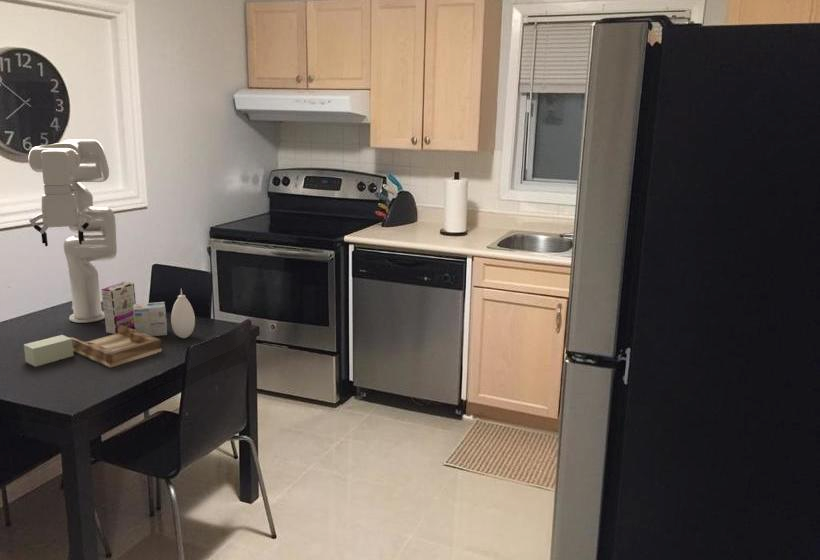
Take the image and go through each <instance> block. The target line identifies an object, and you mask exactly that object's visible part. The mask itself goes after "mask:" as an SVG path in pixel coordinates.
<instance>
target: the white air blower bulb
mask: <svg viewBox="0 0 820 560" xmlns="http://www.w3.org/2000/svg"><path fill="white" fill-rule="evenodd" d="M170 322H171V328H172V331H173V333H174V334H175V335H176V336H178V337H179V338H181V339H186V338H188V337H190V335H191V334H193V331H194V329H195V325H196V318H195V311H194V309H193V306H192V304H191V303H190V301H189V300H188V298H187V297H186V295H185V294H183V290H182V288H180V294H179V295H177V299H176V300H175V302H174V304H173V306H172V310H171V315H170Z"/></svg>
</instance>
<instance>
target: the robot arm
mask: <svg viewBox="0 0 820 560" xmlns="http://www.w3.org/2000/svg"><path fill="white" fill-rule="evenodd" d="M27 158H28V164H29V166H30V168H31V170H33V172H36V173H42V181H43V190H44V194H42V195H41V213H39V214H37V215H36V216H33V217H32V218H30V219H29V223H30V224H31V226H32V227H33V228H34V229H35V230H36V231H38V232H39V233H40V235H41V241H42V244H44V246H45V247H48V236H47V235H48V234H47V232H46V231H47V230H48V229H49V228H67V227H68V228H69V230H70V231H71V232H72V233H75V234H76V233H77V234H78V235H73V236H70V237H67V238H65V240H64V242H63V251H64V255H65V259H66V262H67V267H68V274H69V282H70V284H69V285H70V292H71V301H72V302H71V303H72V305H71V309H72V310H73V313H72V314H70V315H69V316H68V317H69V321H70V322H73V323H79V324H80V323H81V324H86V323H94V322H98V321H101V320H105V316H104V310H102V302H101V292H100V281H99V271H98V270H97V268H96V267H95V266H94V265H93V263H91V262H97V261H103V262H105V261H112V260H114V259H115V258H116V256H117V252H118V251H117V250H118V248H117V230H116V229H117V227H116V226H117V224H116V216H115V213H114V211H113V210H112V209H111V208H110V207H105V206H104V207H103V206H100V207H99V206H98V207H97V206H94V199H93V198H94V196H93V194H92V193H91V192H90V190H89V189H88V188H87V187H86V186H84V184H82V183H103V182H106V181H107V180H108V179H109V176H110V168H109V164H108V161H107V156H106V153H105V151H104V147H103V146H102V144H101V142H100V141H98V140H96V139H66V140H63V141H62V142H59V143H57V142H56V143H53V144H43V145H38V146H34V147H32V148H31V150H30V151H29V154H28V157H27ZM41 219H42V223H43V226H42V227H41V226H40V225H38V224H37V221H40V220H41ZM90 233H91V234H90ZM85 234H89V235H85Z"/></svg>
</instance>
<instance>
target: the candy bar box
mask: <svg viewBox="0 0 820 560" xmlns="http://www.w3.org/2000/svg"><path fill="white" fill-rule="evenodd" d="M101 297H102V306H103V311H104V316H105V318H104V323H105V332H106V334H110V335H113V334H117V333H118V327H117V325H123V326H126V327H128V328H131V329H134V328H135V326H134V315H133V306H134V304H137V300H136V291H135V283H134V282H128V281H122V282H120V283H116V284H113V285H111V286H107V287H105V288H102V289H101Z"/></svg>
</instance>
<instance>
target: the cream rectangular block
mask: <svg viewBox="0 0 820 560" xmlns="http://www.w3.org/2000/svg"><path fill="white" fill-rule="evenodd" d="M23 350H24V351H23V352H24V359H25V363H27V364H29V365H31V366H33V367H34V368H35V367H39V366H42V365H46V364H49V363H53V362H56V361H59V360H60V359H61V360H64V359H68V358H70V357H74V356H75V354H74V351H73V345H72V339H71V338H69V337H68V336H66V335H64V334H61V335H56V336H52V337H49V338H45V339H41V340H36V341H31V342H28V343H24V344H23ZM67 357H68V358H67Z"/></svg>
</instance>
